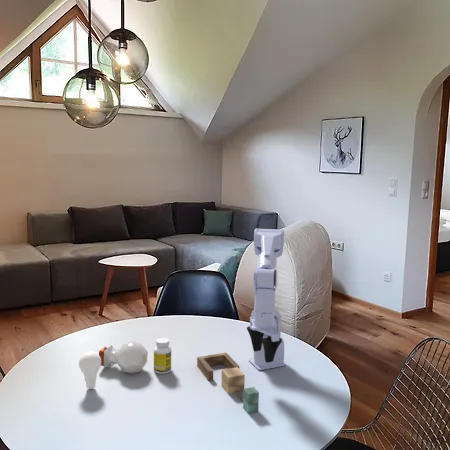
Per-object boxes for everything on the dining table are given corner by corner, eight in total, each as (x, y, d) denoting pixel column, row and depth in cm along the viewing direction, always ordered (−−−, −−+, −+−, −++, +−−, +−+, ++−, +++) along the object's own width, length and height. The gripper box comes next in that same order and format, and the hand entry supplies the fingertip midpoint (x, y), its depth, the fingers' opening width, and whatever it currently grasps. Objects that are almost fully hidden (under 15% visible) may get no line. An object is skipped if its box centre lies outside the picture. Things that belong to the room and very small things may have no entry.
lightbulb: (106, 385, 132) (105, 349, 130) (93, 396, 126) (92, 358, 125) (88, 382, 134) (87, 346, 132) (75, 392, 128) (73, 355, 126)
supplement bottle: (168, 375, 139) (168, 344, 137) (151, 373, 140) (151, 343, 138) (173, 367, 144) (173, 337, 143) (157, 365, 145) (157, 336, 144)
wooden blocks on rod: (237, 383, 135) (237, 365, 134) (261, 410, 120) (262, 391, 119) (221, 386, 133) (221, 368, 132) (244, 414, 118) (244, 394, 118)
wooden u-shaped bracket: (226, 361, 149) (226, 352, 149) (239, 375, 139) (239, 366, 139) (197, 366, 145) (197, 357, 145) (208, 381, 136) (208, 371, 135)
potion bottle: (147, 380, 138) (103, 378, 143) (156, 351, 145) (114, 350, 150) (135, 364, 132) (91, 363, 137) (145, 335, 139) (102, 335, 144)
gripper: (240, 304, 133) (239, 348, 136) (263, 320, 120) (262, 369, 122) (262, 301, 136) (261, 344, 138) (286, 317, 123) (285, 365, 125)
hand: (263, 356), depth 130 cm, fingers open, 7 cm apart
